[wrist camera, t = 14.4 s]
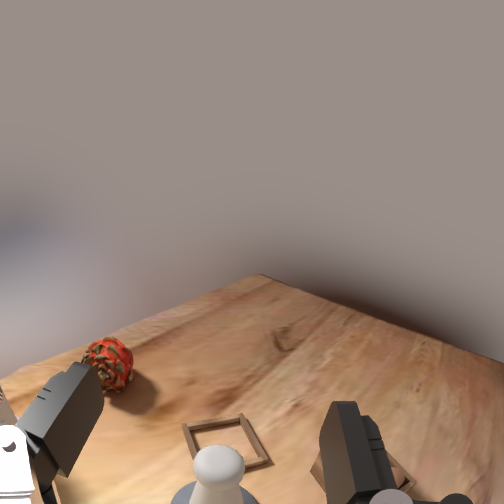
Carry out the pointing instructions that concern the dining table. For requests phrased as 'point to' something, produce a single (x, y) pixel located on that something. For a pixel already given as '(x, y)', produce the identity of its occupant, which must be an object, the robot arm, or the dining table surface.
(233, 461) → the salt shaker
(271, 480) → the dining table surface
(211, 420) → the holder
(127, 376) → the dragon fruit
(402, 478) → the caddy
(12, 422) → the french press
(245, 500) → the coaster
